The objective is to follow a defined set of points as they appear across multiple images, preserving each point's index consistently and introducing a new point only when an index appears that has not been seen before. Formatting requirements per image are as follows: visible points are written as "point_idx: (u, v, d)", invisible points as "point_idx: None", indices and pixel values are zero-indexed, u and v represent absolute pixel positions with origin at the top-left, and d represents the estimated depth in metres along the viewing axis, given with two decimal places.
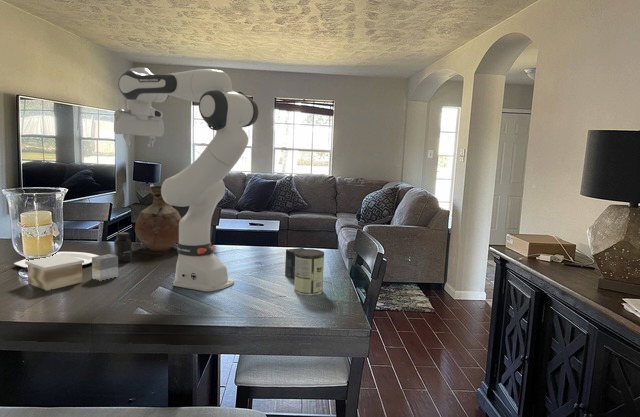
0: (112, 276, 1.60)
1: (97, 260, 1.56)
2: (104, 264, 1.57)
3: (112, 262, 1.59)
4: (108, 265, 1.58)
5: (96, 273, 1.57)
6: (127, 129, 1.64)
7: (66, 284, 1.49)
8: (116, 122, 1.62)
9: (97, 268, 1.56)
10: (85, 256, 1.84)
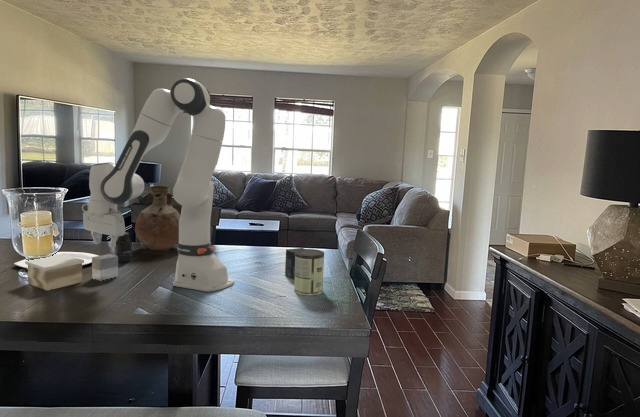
0: (112, 276, 1.60)
1: (97, 260, 1.56)
2: (104, 264, 1.57)
3: (112, 262, 1.59)
4: (108, 265, 1.58)
5: (96, 273, 1.57)
6: None
7: (66, 284, 1.49)
8: (120, 224, 1.52)
9: (97, 268, 1.56)
10: (85, 256, 1.84)
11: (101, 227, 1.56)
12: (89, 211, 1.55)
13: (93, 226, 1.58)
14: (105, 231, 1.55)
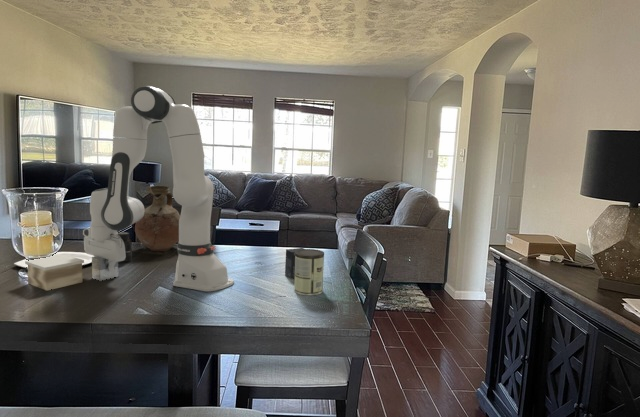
0: (112, 276, 1.60)
1: (97, 260, 1.56)
2: (104, 264, 1.57)
3: None
4: (108, 265, 1.58)
5: (96, 273, 1.57)
6: None
7: (66, 284, 1.49)
8: (120, 249, 1.54)
9: (97, 268, 1.56)
10: (85, 256, 1.84)
11: (102, 252, 1.57)
12: (90, 236, 1.56)
13: (94, 251, 1.59)
14: (106, 256, 1.56)
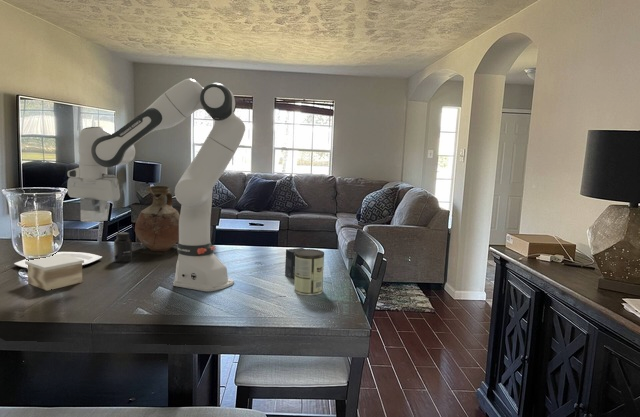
0: (102, 218, 1.56)
1: (88, 201, 1.52)
2: (95, 205, 1.53)
3: None
4: (98, 206, 1.55)
5: (86, 214, 1.53)
6: None
7: (66, 284, 1.49)
8: (115, 189, 1.52)
9: (88, 209, 1.52)
10: (85, 256, 1.84)
11: (93, 193, 1.53)
12: (79, 176, 1.51)
13: (81, 192, 1.54)
14: (98, 197, 1.52)
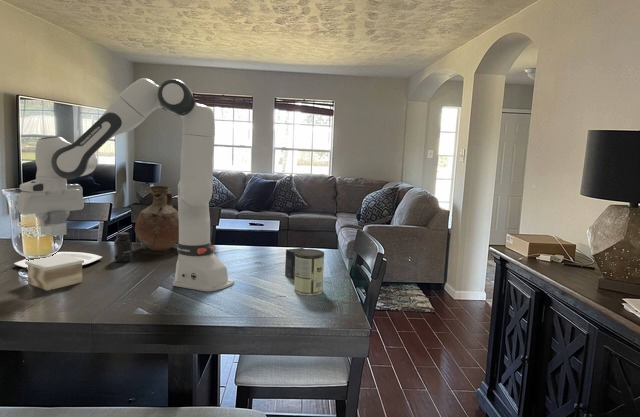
0: None
1: (61, 213, 1.48)
2: None
3: None
4: None
5: (58, 228, 1.48)
6: None
7: (66, 284, 1.49)
8: None
9: (61, 222, 1.48)
10: (85, 256, 1.84)
11: (60, 205, 1.49)
12: (50, 190, 1.44)
13: (44, 207, 1.45)
14: (66, 208, 1.51)
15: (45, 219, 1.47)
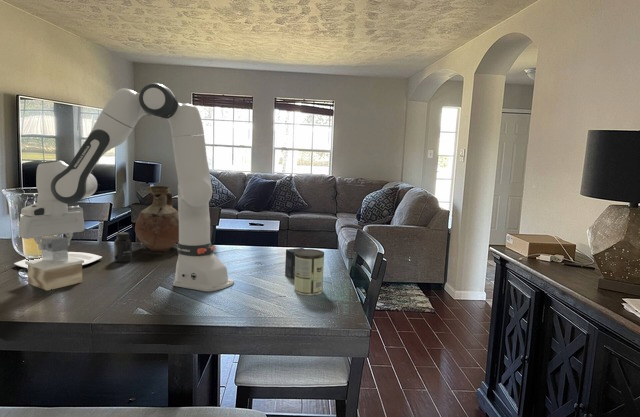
0: None
1: (62, 240, 1.49)
2: None
3: None
4: None
5: (60, 255, 1.49)
6: None
7: (66, 284, 1.49)
8: None
9: (62, 249, 1.50)
10: (85, 256, 1.84)
11: (61, 227, 1.50)
12: (51, 213, 1.45)
13: (45, 230, 1.46)
14: (67, 230, 1.52)
15: (46, 246, 1.49)
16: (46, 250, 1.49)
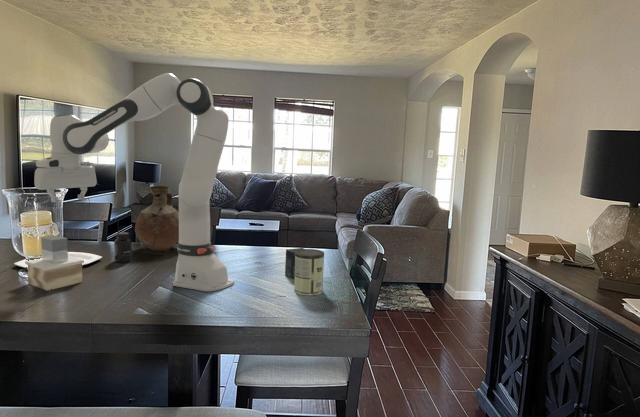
0: None
1: (62, 240, 1.49)
2: None
3: None
4: None
5: (60, 255, 1.49)
6: None
7: (66, 284, 1.49)
8: None
9: (62, 249, 1.50)
10: (85, 256, 1.84)
11: (74, 181, 1.55)
12: (65, 166, 1.49)
13: (59, 182, 1.50)
14: (80, 184, 1.57)
15: (46, 246, 1.49)
16: (46, 250, 1.49)
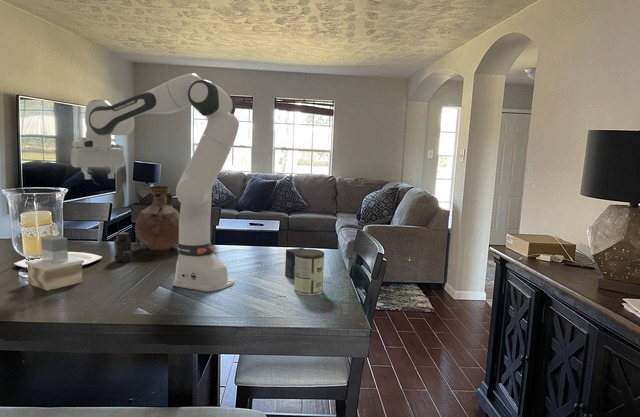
0: None
1: (62, 240, 1.49)
2: None
3: None
4: None
5: (60, 255, 1.49)
6: None
7: (66, 284, 1.49)
8: None
9: (62, 249, 1.50)
10: (85, 256, 1.84)
11: (105, 161, 1.70)
12: (98, 146, 1.65)
13: (93, 161, 1.66)
14: (110, 164, 1.72)
15: (46, 246, 1.49)
16: (46, 250, 1.49)
